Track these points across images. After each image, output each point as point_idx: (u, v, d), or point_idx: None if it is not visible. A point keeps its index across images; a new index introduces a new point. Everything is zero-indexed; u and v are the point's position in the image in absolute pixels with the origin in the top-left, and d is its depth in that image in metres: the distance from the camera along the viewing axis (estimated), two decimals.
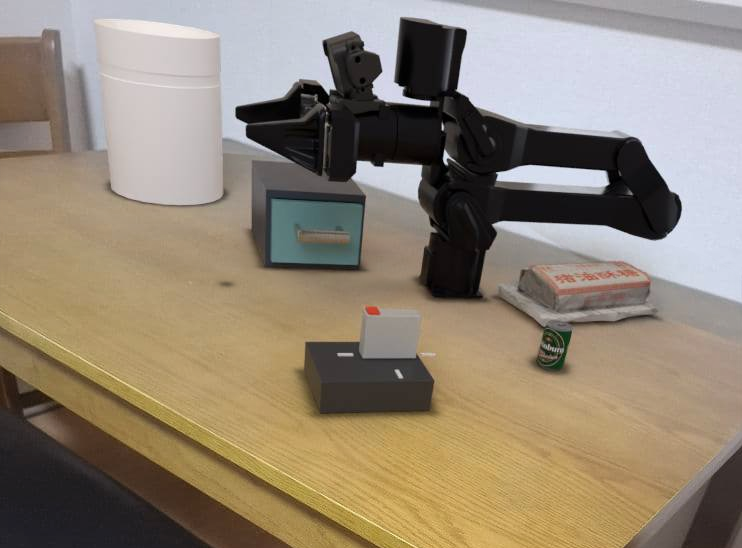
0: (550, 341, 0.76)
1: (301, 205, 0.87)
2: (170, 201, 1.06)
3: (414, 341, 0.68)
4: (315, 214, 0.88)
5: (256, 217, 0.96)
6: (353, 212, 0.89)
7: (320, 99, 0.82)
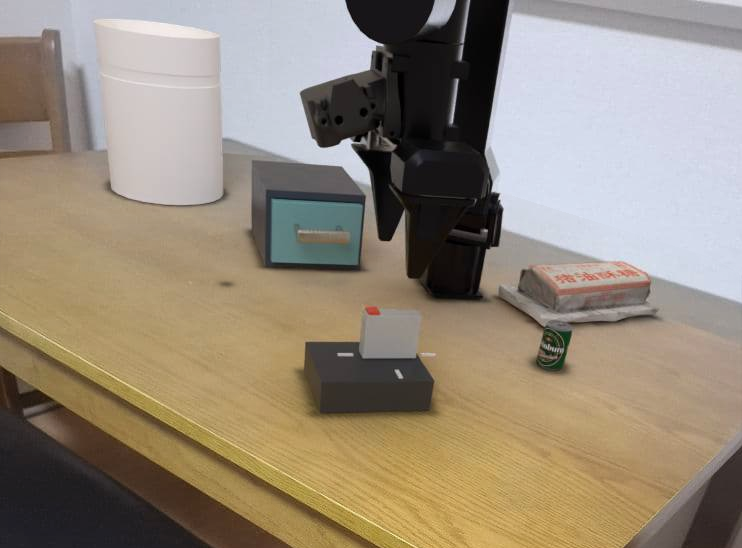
0: (551, 341, 0.76)
1: (301, 205, 0.87)
2: (170, 201, 1.06)
3: (414, 341, 0.68)
4: (315, 214, 0.88)
5: (256, 217, 0.96)
6: (353, 212, 0.89)
7: None
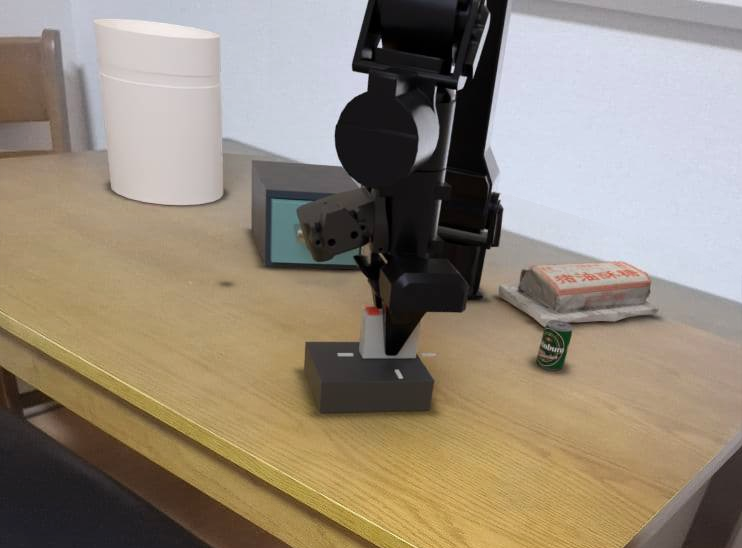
0: (551, 341, 0.76)
1: (301, 205, 0.87)
2: (170, 201, 1.06)
3: (414, 341, 0.68)
4: None
5: (256, 217, 0.96)
6: None
7: None
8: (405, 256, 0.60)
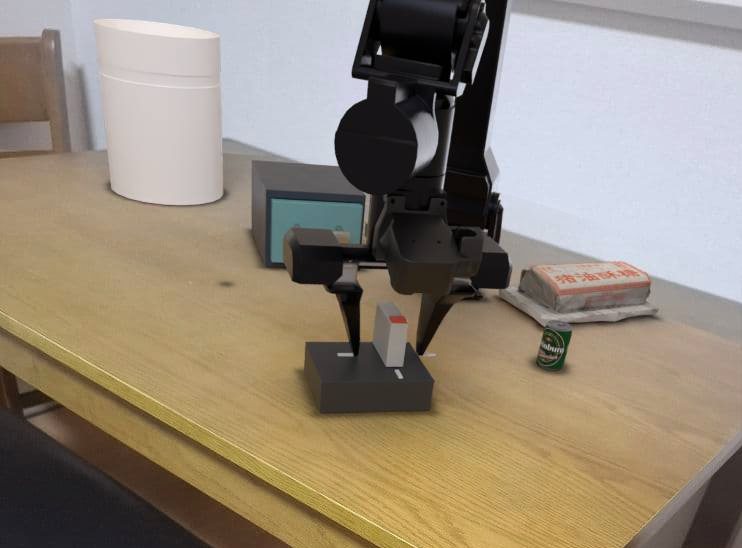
0: (551, 341, 0.76)
1: (301, 205, 0.87)
2: (170, 201, 1.06)
3: None
4: (315, 214, 0.88)
5: (256, 217, 0.96)
6: (353, 212, 0.89)
7: None
8: None
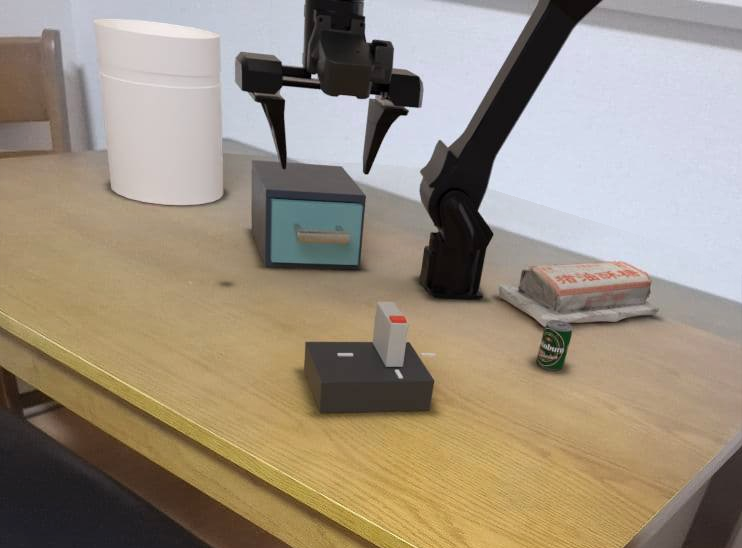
0: (551, 341, 0.76)
1: (301, 205, 0.87)
2: (170, 201, 1.06)
3: None
4: (315, 214, 0.88)
5: (256, 217, 0.96)
6: (353, 212, 0.89)
7: None
8: None
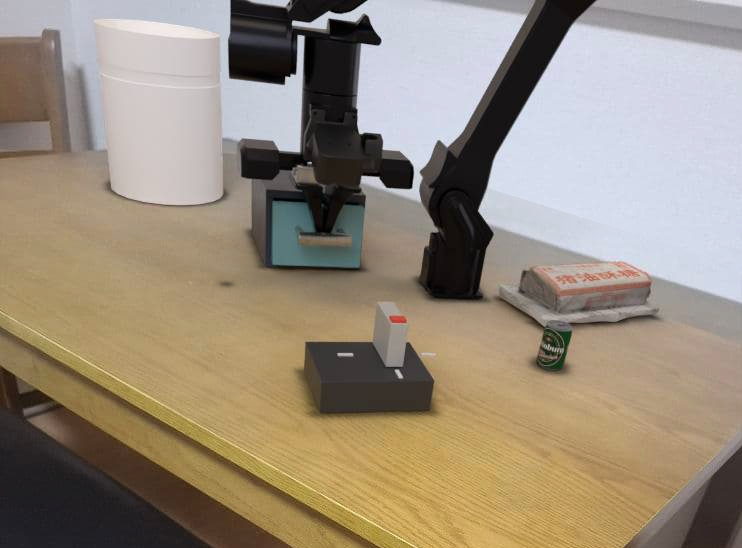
0: (551, 341, 0.76)
1: (302, 207, 0.87)
2: (170, 201, 1.06)
3: None
4: None
5: (256, 217, 0.96)
6: (355, 214, 0.89)
7: None
8: None
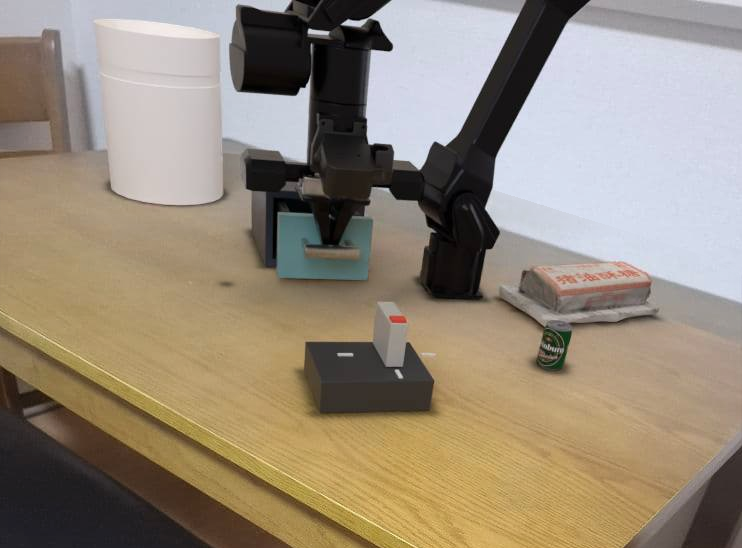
0: (550, 341, 0.76)
1: (309, 219, 0.84)
2: (170, 201, 1.06)
3: None
4: None
5: (256, 217, 0.96)
6: (363, 225, 0.86)
7: None
8: None
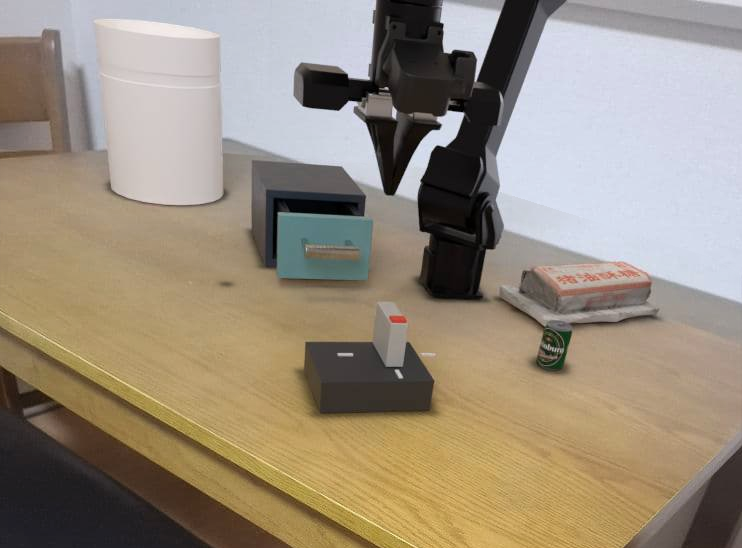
0: (551, 341, 0.76)
1: (309, 219, 0.83)
2: (170, 201, 1.06)
3: None
4: (324, 228, 0.85)
5: (256, 217, 0.96)
6: (363, 225, 0.85)
7: None
8: None
